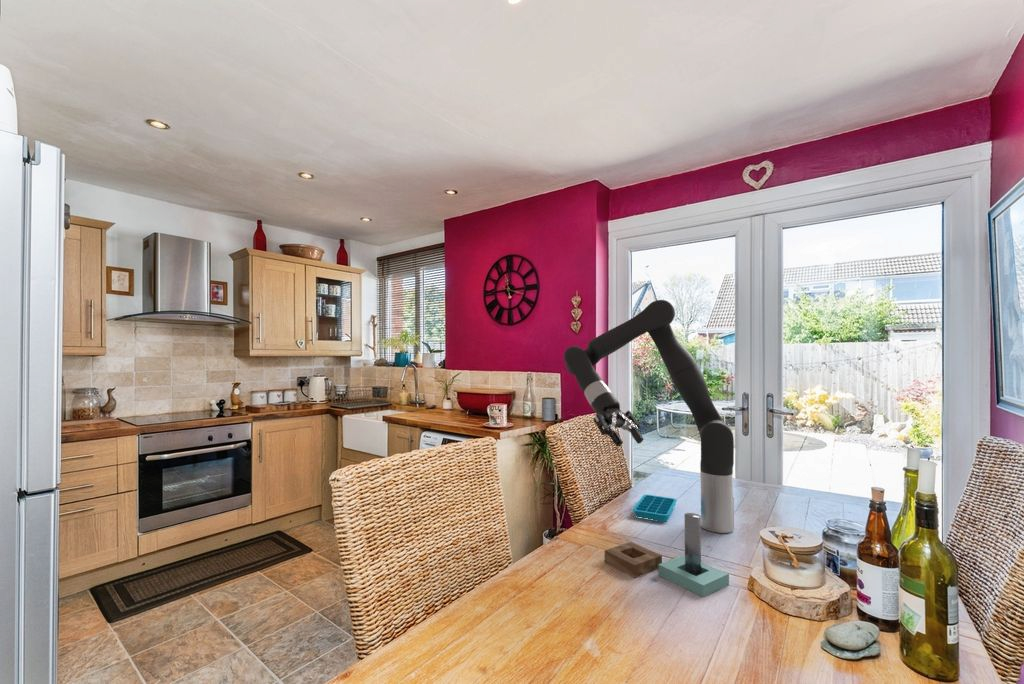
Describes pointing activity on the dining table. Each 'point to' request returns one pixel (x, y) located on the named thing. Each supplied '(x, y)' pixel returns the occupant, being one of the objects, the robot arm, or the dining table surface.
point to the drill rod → (693, 543)
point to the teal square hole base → (700, 584)
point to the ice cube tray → (654, 507)
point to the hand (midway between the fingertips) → (630, 443)
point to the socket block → (633, 559)
